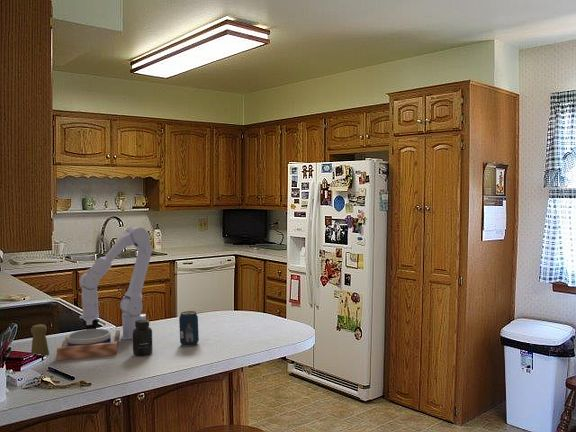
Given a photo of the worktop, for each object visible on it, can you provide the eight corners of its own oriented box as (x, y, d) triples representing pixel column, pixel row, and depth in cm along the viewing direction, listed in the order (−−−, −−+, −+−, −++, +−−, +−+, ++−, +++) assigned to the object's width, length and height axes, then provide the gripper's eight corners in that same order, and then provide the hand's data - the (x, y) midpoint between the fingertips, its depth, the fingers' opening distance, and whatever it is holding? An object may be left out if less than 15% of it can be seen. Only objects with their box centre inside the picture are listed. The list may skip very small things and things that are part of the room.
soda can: (191, 340, 213) (190, 309, 212) (202, 343, 208) (201, 312, 207) (176, 344, 208) (175, 313, 207) (187, 347, 203) (185, 315, 202)
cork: (42, 357, 195) (40, 327, 195) (27, 357, 197) (25, 326, 196) (52, 352, 201) (51, 323, 201) (38, 352, 203) (36, 322, 202)
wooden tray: (119, 334, 224) (119, 325, 224) (117, 354, 197) (116, 343, 197) (67, 339, 219) (67, 329, 219) (57, 360, 192) (56, 348, 192)
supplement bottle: (142, 358, 192) (141, 324, 191) (129, 355, 196) (127, 322, 195) (157, 352, 198) (155, 319, 197) (143, 350, 201) (142, 317, 201)
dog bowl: (117, 350, 202) (116, 333, 202) (74, 358, 193) (73, 341, 193) (103, 341, 215) (102, 326, 214) (62, 349, 205) (61, 333, 205)
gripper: (81, 301, 217) (82, 335, 218) (76, 309, 203) (78, 345, 204) (100, 299, 219) (101, 333, 220) (97, 307, 205) (98, 343, 206)
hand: (91, 339), depth 212 cm, fingers closed, pressing on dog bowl
